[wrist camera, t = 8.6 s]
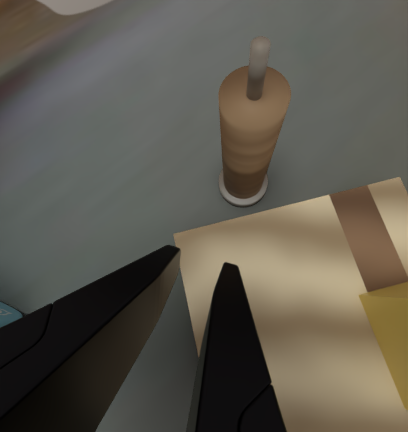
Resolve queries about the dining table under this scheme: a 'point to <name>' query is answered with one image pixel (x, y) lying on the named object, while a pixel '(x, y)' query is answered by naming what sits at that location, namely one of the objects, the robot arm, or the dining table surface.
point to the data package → (8, 314)
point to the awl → (250, 125)
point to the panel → (313, 300)
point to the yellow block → (391, 330)
